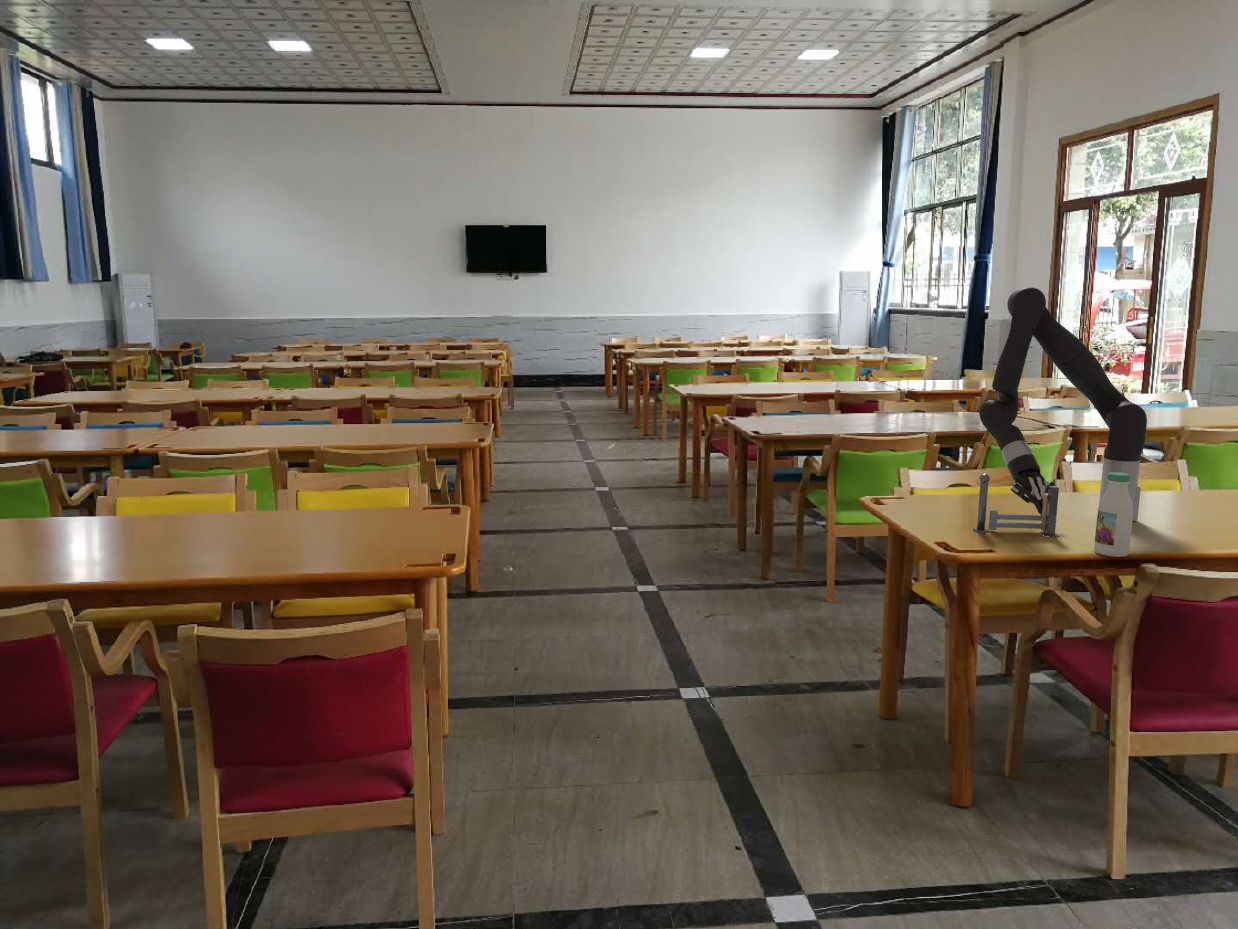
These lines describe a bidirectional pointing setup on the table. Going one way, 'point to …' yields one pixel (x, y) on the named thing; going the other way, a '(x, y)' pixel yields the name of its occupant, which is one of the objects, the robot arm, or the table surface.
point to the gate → (994, 516)
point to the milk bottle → (1114, 518)
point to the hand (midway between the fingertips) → (1045, 514)
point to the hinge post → (982, 503)
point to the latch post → (1051, 512)
